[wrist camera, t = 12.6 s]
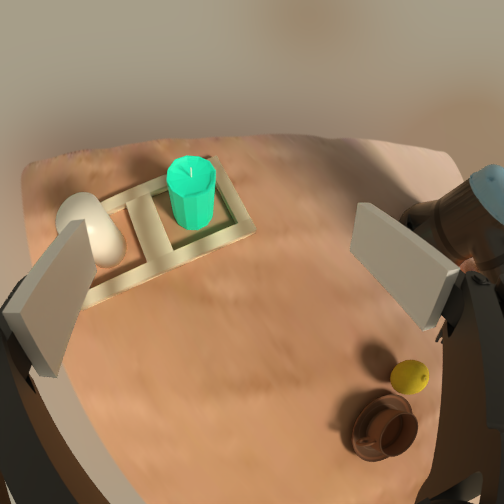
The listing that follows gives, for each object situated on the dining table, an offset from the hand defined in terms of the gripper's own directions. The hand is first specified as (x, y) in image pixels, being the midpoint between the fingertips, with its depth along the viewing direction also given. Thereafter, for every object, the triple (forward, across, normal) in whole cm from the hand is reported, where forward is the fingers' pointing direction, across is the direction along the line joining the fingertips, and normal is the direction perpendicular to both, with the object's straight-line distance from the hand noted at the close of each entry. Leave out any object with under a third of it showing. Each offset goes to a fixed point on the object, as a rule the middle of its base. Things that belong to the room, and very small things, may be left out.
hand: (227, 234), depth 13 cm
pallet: (+28, -8, -11) cm, 31 cm away
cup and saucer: (+3, +23, -37) cm, 44 cm away
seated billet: (+26, -15, -13) cm, 33 cm away
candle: (+29, -2, -10) cm, 31 cm away
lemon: (+8, +27, -31) cm, 42 cm away
